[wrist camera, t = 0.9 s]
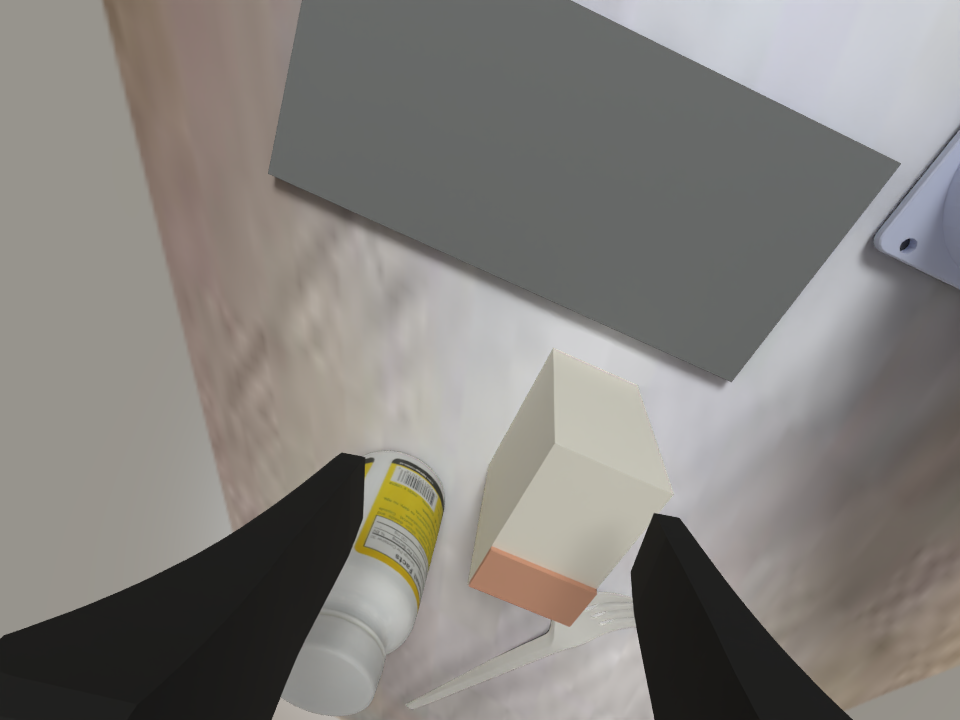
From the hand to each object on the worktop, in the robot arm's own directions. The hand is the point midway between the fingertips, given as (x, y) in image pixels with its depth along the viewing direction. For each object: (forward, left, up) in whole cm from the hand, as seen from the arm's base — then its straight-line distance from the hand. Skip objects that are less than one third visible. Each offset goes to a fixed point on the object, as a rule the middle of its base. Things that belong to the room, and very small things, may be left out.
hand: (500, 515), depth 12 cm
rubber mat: (+2, -7, -10) cm, 12 cm away
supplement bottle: (+3, +10, -10) cm, 14 cm away
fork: (-8, +19, -11) cm, 23 cm away
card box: (-3, +3, -10) cm, 11 cm away
